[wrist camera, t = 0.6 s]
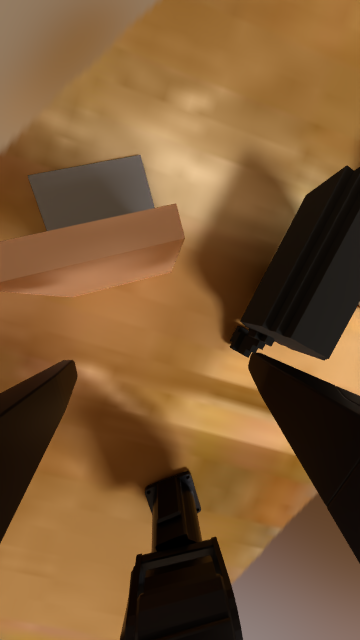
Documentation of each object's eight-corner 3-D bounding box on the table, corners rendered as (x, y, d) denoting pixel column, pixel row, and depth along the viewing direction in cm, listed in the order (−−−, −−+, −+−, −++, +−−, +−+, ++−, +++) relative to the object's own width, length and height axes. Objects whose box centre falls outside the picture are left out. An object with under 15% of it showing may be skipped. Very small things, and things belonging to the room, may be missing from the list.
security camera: (212, 338, 22) (254, 365, 13) (278, 212, 22) (376, 137, 12) (254, 359, 24) (324, 400, 14) (318, 240, 23) (438, 192, 13)
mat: (164, 247, 21) (164, 246, 20) (63, 271, 19) (61, 270, 19) (140, 158, 19) (140, 154, 19) (31, 178, 18) (27, 175, 18)
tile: (171, 272, 21) (185, 238, 10) (72, 297, 20) (-31, 289, 9) (166, 254, 21) (175, 199, 10) (66, 278, 20) (-49, 247, 9)
